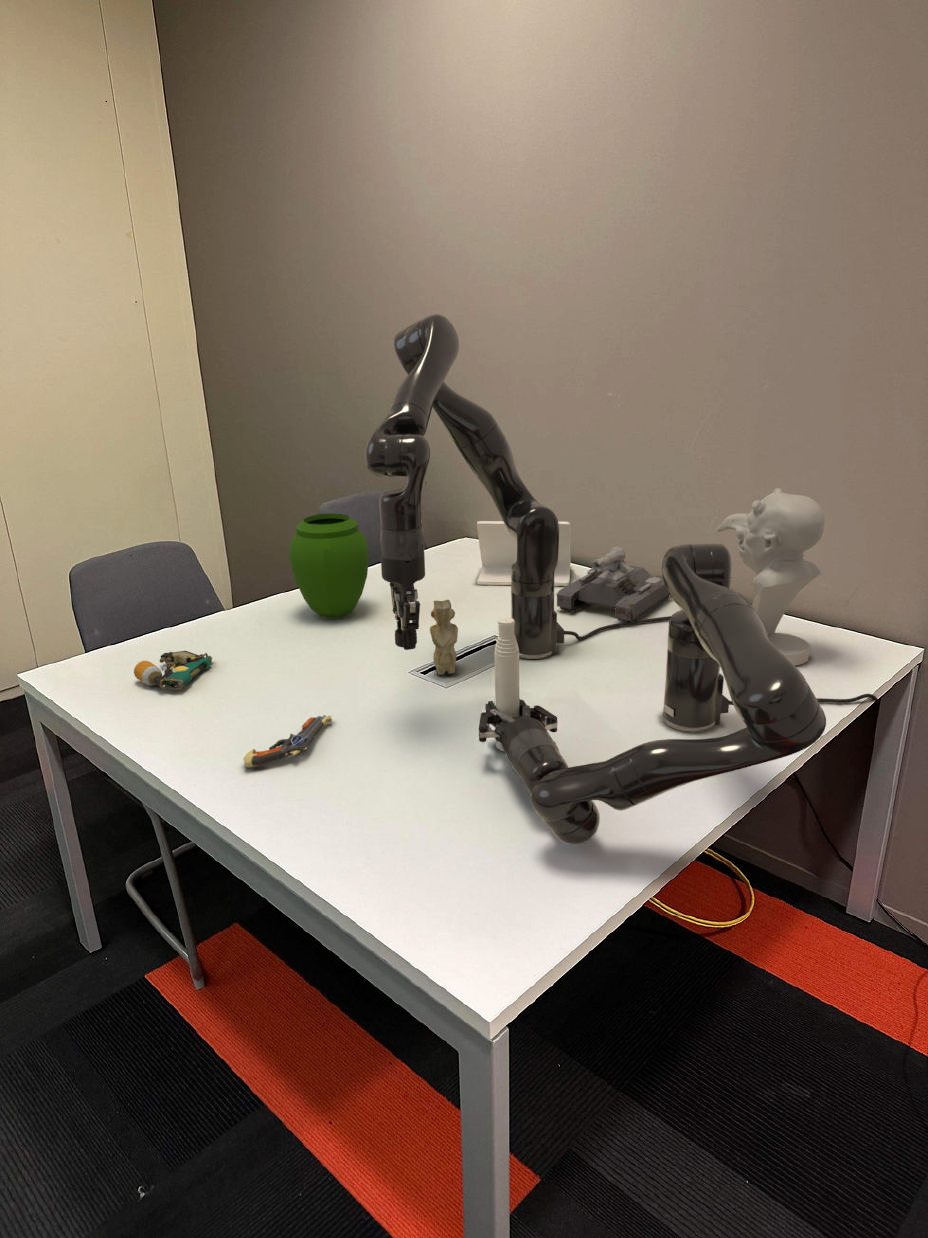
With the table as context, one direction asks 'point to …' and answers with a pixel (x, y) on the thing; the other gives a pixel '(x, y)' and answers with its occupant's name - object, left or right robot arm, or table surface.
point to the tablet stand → (514, 554)
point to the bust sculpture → (779, 558)
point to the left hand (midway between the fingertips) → (406, 643)
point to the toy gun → (288, 743)
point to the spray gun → (172, 669)
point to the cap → (399, 637)
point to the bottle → (507, 671)
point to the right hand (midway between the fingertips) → (503, 704)
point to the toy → (615, 588)
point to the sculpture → (444, 637)
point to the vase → (329, 563)
